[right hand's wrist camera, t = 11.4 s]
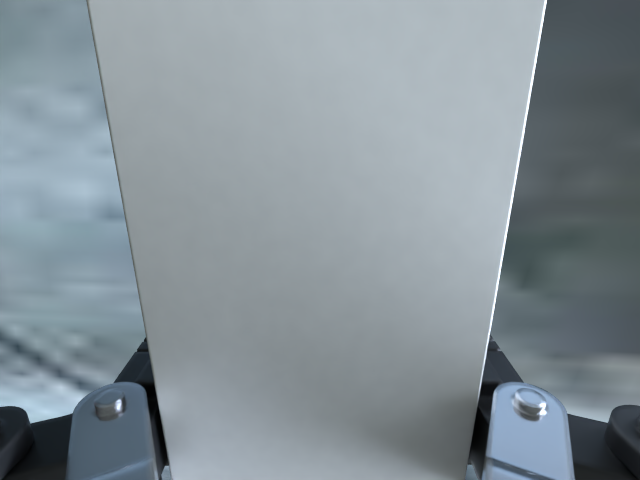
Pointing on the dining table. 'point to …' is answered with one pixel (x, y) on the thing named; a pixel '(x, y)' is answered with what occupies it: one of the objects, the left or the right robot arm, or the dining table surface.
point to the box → (317, 222)
